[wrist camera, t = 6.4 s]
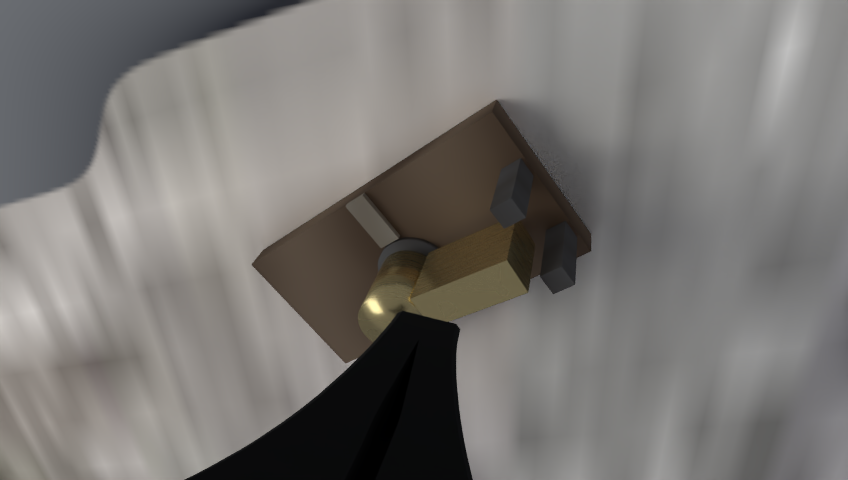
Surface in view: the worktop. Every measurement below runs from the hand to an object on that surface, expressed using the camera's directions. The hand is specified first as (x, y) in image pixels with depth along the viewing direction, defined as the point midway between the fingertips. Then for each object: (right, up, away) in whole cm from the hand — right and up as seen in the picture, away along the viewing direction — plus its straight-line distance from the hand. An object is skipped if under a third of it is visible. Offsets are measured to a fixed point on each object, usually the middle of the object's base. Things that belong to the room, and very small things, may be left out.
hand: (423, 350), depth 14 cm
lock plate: (0, +2, +8) cm, 9 cm away
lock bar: (+1, +2, +7) cm, 7 cm away
